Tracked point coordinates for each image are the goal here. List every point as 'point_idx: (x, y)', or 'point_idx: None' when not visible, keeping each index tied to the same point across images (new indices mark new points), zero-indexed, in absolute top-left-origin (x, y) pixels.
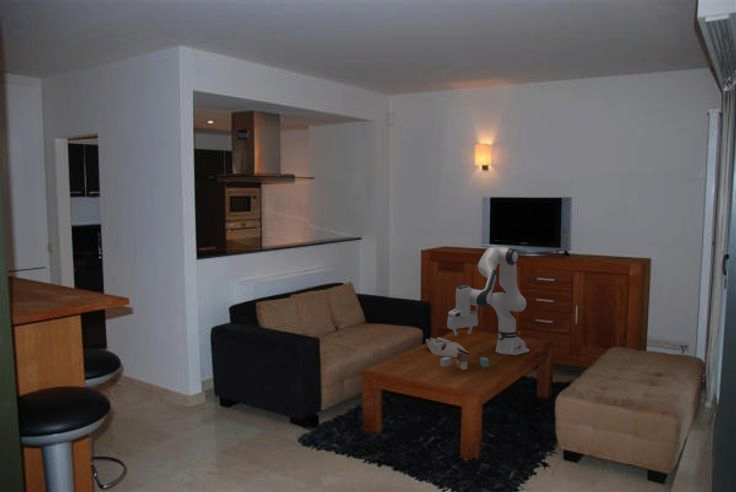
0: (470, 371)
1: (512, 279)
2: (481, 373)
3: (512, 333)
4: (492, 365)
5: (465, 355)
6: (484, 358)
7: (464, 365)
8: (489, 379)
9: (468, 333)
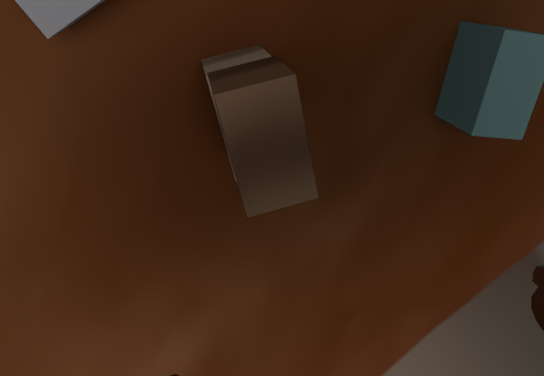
0: None
1: None
2: (340, 260)
3: None
4: None
5: (285, 202)
6: (520, 78)
7: None
8: (330, 371)
9: (539, 310)
